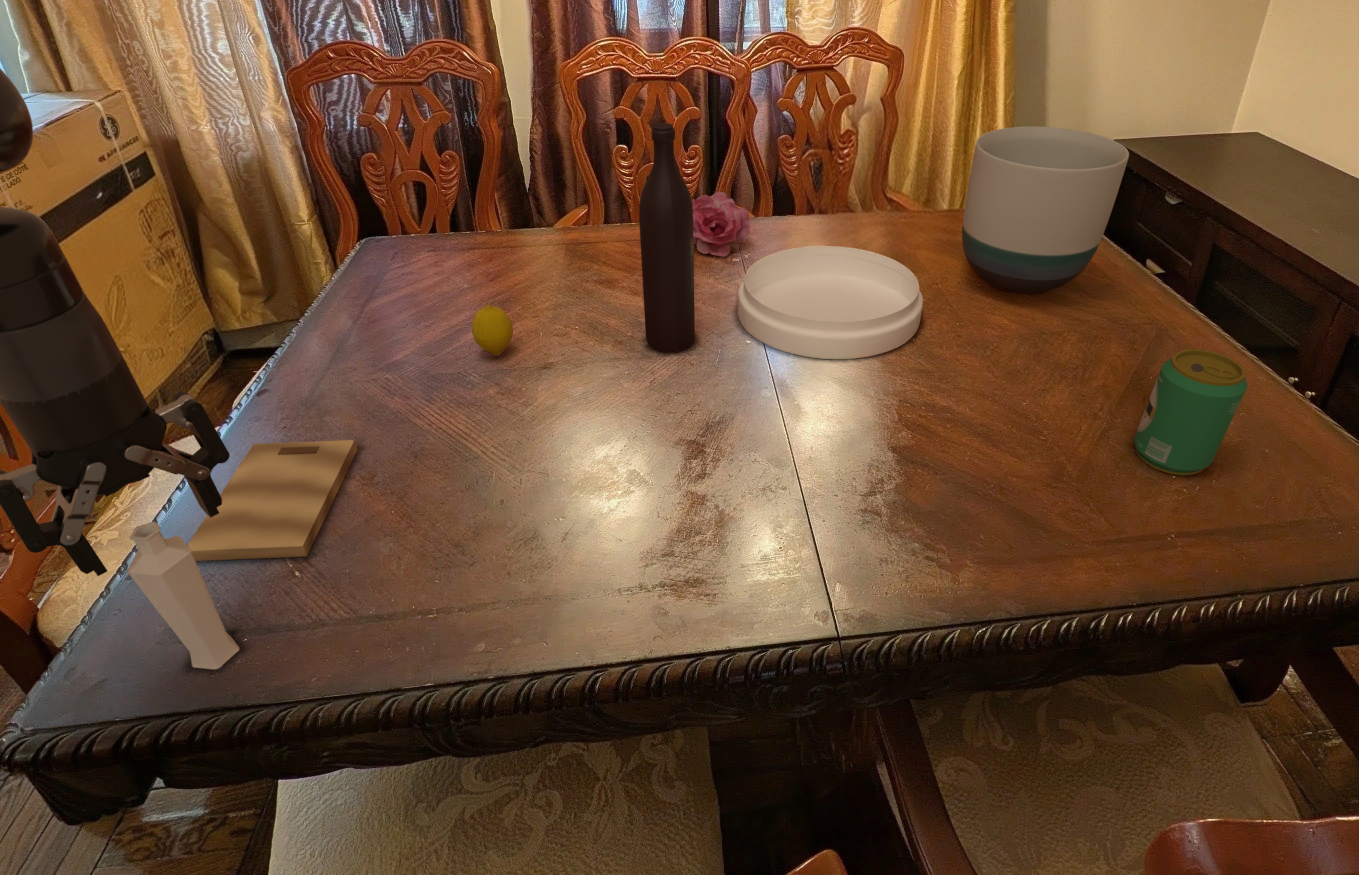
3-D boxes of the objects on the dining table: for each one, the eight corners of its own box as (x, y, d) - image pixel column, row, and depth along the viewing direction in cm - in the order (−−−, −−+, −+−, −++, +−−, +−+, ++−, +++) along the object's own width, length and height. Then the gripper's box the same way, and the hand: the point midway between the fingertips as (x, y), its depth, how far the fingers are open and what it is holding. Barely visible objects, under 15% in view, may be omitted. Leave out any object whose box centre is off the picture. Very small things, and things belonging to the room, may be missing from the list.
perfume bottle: (253, 634, 74) (190, 512, 65) (226, 673, 70) (155, 551, 61) (208, 629, 74) (138, 509, 65) (178, 668, 71) (100, 546, 62)
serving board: (307, 556, 82) (302, 544, 81) (188, 561, 82) (182, 549, 81) (357, 449, 96) (354, 438, 95) (257, 453, 96) (252, 442, 95)
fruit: (512, 341, 116) (504, 291, 112) (520, 359, 112) (511, 308, 108) (474, 348, 115) (464, 298, 110) (480, 367, 111) (469, 315, 106)
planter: (923, 277, 130) (946, 142, 117) (1005, 247, 138) (1035, 118, 126) (1029, 327, 116) (1069, 180, 103) (1114, 290, 125) (1160, 150, 112)
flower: (732, 276, 140) (705, 239, 132) (694, 263, 146) (666, 227, 139) (768, 224, 141) (743, 185, 133) (729, 214, 147) (703, 176, 140)
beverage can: (1138, 427, 96) (1172, 339, 89) (1214, 449, 92) (1256, 359, 85) (1124, 461, 91) (1159, 371, 84) (1203, 486, 87) (1247, 394, 80)
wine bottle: (701, 349, 113) (699, 130, 95) (653, 357, 112) (641, 137, 94) (687, 326, 119) (682, 115, 101) (640, 333, 117) (628, 121, 99)
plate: (958, 331, 115) (966, 297, 112) (799, 378, 106) (801, 343, 103) (849, 262, 135) (852, 231, 132) (706, 297, 126) (706, 265, 123)
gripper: (-56, 437, 48) (75, 615, 58) (186, 343, 57) (265, 513, 66) (-84, 393, 52) (42, 567, 62) (145, 311, 61) (225, 476, 70)
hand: (157, 539), depth 64 cm, fingers open, 8 cm apart
